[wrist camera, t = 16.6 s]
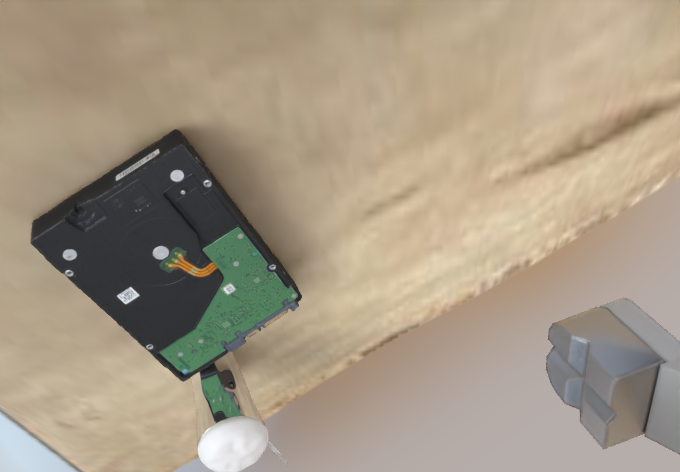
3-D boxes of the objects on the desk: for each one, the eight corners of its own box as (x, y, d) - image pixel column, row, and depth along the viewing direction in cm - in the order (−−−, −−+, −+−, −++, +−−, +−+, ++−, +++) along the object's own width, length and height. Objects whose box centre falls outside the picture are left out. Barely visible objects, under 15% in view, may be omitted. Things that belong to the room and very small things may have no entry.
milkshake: (246, 382, 50) (279, 488, 42) (176, 385, 48) (197, 497, 40) (258, 336, 48) (295, 438, 40) (185, 336, 46) (209, 445, 38)
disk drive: (27, 220, 38) (179, 359, 47) (24, 245, 36) (184, 386, 44) (175, 122, 38) (298, 280, 47) (181, 140, 35) (309, 303, 44)
